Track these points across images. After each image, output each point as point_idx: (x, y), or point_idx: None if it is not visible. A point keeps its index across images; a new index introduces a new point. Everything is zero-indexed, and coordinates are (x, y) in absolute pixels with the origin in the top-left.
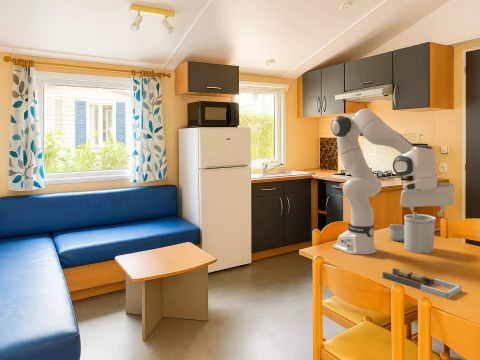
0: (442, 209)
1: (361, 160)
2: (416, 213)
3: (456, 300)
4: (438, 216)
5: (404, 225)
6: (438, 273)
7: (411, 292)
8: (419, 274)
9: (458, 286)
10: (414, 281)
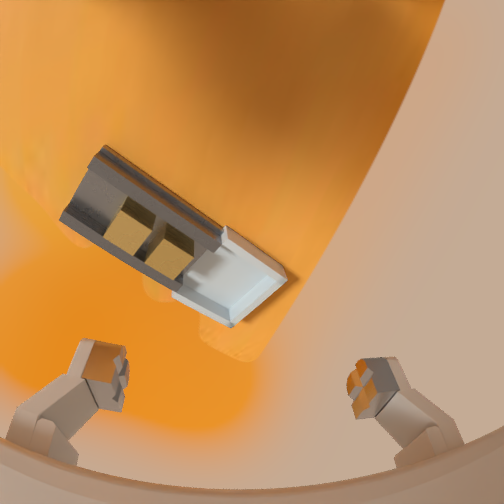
0: (397, 442)
1: None
2: (113, 410)
3: None
4: (350, 375)
5: None
6: (279, 100)
7: (149, 283)
8: (173, 252)
9: (277, 285)
10: (155, 274)
